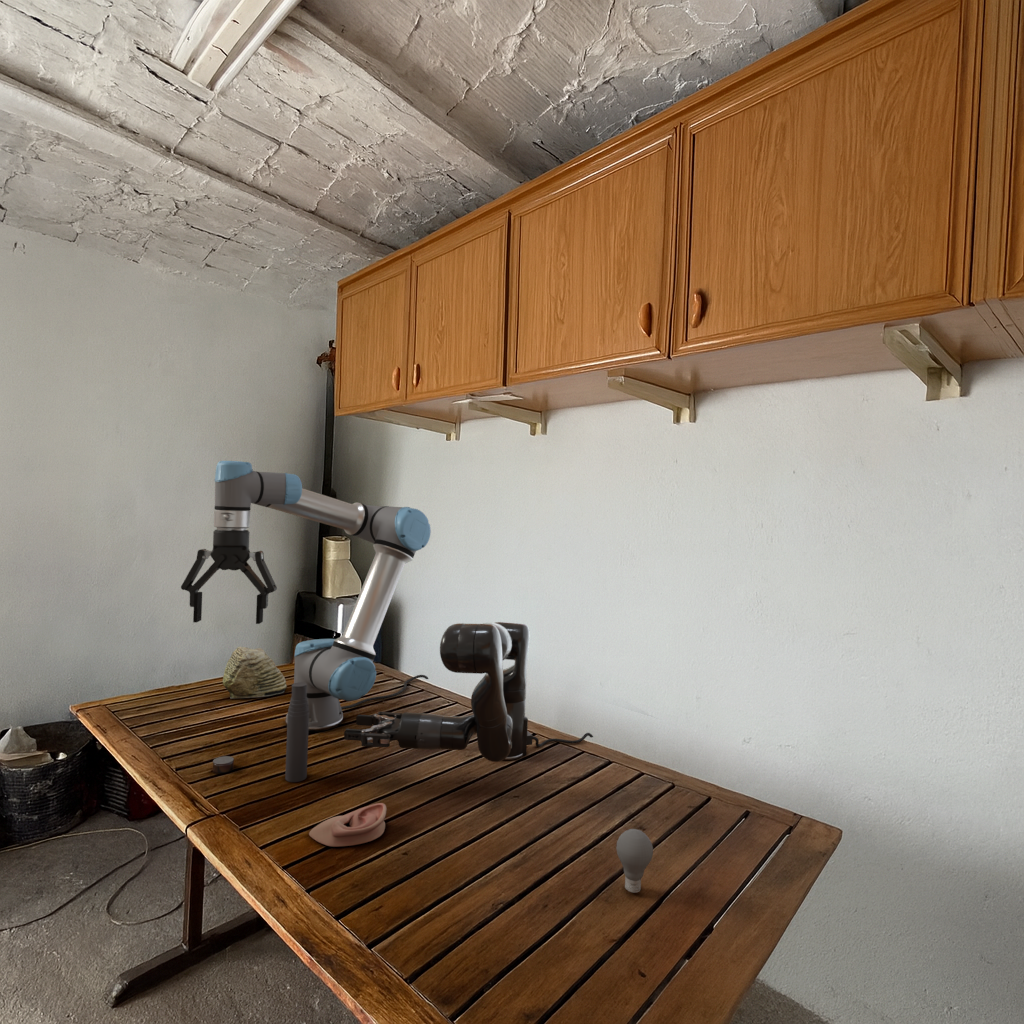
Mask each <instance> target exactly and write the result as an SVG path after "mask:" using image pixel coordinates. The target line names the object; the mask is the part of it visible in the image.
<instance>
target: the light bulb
mask: <svg viewBox="0 0 1024 1024" xmlns="http://www.w3.org/2000/svg"><path fill="white" fill-rule="evenodd" d="M615 849H616V854H617V857H618V859H619V861H620V863H621V865H622V867H623V873H624V874H623V875H624V876H625V878H624V888H625V890H627V891H628V892H630V893H634V894H635V893H639V892H640V891H641V889H642V887H641V886H642V879H643V877H644V875H645V871H646V868H647V867H648V866H649V864H650V863H651V861H652V859H653V855H654V847H653V843H652V841H651V838H649V836H648V835H647V834H646V833H645V832H643V831H642V830H641V829H636V828H629V829H627V830H625V831H623V832H622V833H621V834H620V835H619V837H618V839H617V841H616V847H615Z"/></svg>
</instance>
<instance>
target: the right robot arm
mask: <svg viewBox="0 0 1024 1024" xmlns="http://www.w3.org/2000/svg"><path fill="white" fill-rule="evenodd" d="M530 640H531V633H530V628H529V626H528V625H527V624H525V623H519V622H507V621H497V622H483V623H464V622H462V623H459V622H457V623H453V624H451V625H449V626H448V627H447V628H446V629H445V630H444V632H443V634H442V635H441V639H440V644H439V656H440V659H441V663H442V664H443V667H445V668H446V670H447V671H449V672H452V673H457V674H480V675H482V674H484V675H483V676H482V678H481V679H480V680H479V682H478V683H477V684H476V685H475V687H474V689H473V691H472V693H471V697H470V705H471V710H472V714H470V715H464V716H451V715H441V714H434V713H425V712H424V713H423V712H403V713H402V712H393V711H391V712H390V711H378V712H377V713H375V714H372V715H371V714H357V715H356V717H355V724H356V726H365V727H370V728H366V729H357V728H346V729H345V730H344V731H343V739H344V740H345V741H358V742H360V743H361V747H367V748H368V747H369V748H390V747H391V742H392V741H397V742H398V746H399V748H401V749H412V750H427V751H429V750H430V751H432V750H445V751H446V750H448V751H464V750H466V749H467V747H468V746H469V743H470V741H471V738H472V737H473V736H474V735H476V741H477V748H478V752H479V753H480V755H481V756H482V757H483V758H484V759H486V761H489V762H491V763H498V762H502V761H511V760H517V759H521V758H522V757H524V756H527V752H528V751H527V749H528V746H532V745H533V740H534V741H535V747H537V748H541V747H543V746H545V745H546V744H548V743H553V742H555V743H563V744H564V743H565V744H574V745H575V744H580V743H581V742H583V741H584V740H585V739H586V738H587V737H589V738H594V735H593V734H592V733H590V732H586V733H585V734H583V736H581V737H580V738H578V739H576V740H575V739H574V740H569V739H564V738H548V739H546V740H543V742H541V743H539V742H540V741H539V740H540V739H539V738H538V737H537V736H535V735H533V734H532V733H531V732H530V731H528V727H529V717H527V716H526V701H527V681H528V679H527V678H528V677H527V676H528V662H529V651H530ZM505 660H508V661H509V660H510V661H514V663H513V665H511V666H509V667H507V668H504V665H503V664H504V661H505Z"/></svg>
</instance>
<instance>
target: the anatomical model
mask: <svg viewBox="0 0 1024 1024" xmlns="http://www.w3.org/2000/svg"><path fill="white" fill-rule="evenodd" d="M386 816H387V805H386V804H385V803H383V802H378V803H373V804H370V805H368V806H364V807H360V808H358V809H355V810H353V811H351V812H348V813H346V814H344V815H343V814H342V815H337V816H333V817H331V818H328V819H326V820H323V821H322V822H320V823H318V824H317V825H315V826H314V827H313V828H311V830H309V832H308V835H309V837H310V838H311V839H313V840H315V841H316V842H318V843H319V844H321V845H325V846H327V847H333V848H335V847H348V846H349V847H350V846H357V845H361V844H365V843H368V842H372V841H374V840H376V839H378V838H380V837H381V836H382V835H383V834H384V832H385V829H386V822H385V819H386Z"/></svg>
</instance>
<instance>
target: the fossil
mask: <svg viewBox="0 0 1024 1024" xmlns="http://www.w3.org/2000/svg"><path fill="white" fill-rule="evenodd" d="M222 676H223V677H222V685H223V687H224V688H225V690H226V691H228V693H229V698H230V699H250V698H264V697H271V696H275V695H281V694H284V693H285V691H286V689H287V687H288V686H287V680H286V678H285V676H284V674H283V673H282V672H281V669H279V668H278V667H277V665H276V663H275V662H274V660H273V659H272V658H271V657H270V656H269V655H268V654H267V653H266V652H265V650H264V649H263V648H260V647H258V648H251V647H247V646H246V647H245V646H238V647H237V648H236V649H235V650H233V651H232V653H231V656H230V657H229V659H228V660H227V663H226V666H225V668H224V671H223V675H222Z"/></svg>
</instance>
